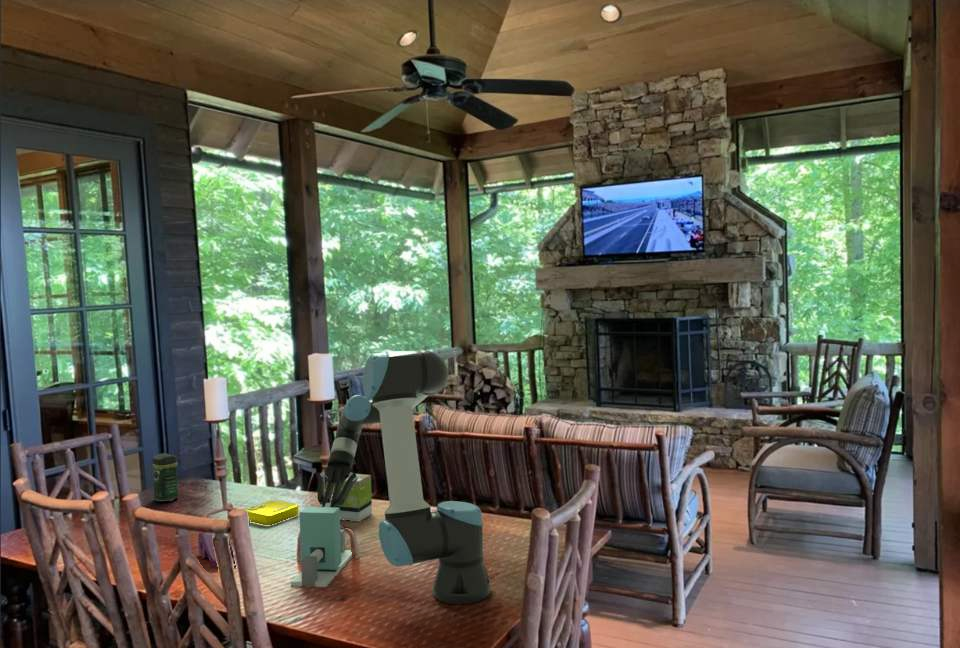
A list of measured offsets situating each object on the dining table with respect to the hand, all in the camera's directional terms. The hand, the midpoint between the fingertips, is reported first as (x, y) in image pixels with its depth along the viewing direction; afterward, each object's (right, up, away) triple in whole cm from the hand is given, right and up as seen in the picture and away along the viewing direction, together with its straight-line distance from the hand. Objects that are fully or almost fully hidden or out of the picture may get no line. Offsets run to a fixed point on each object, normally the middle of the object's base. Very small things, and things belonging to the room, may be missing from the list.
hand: (324, 525), depth 197 cm
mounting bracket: (-33, -13, +9) cm, 37 cm away
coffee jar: (-80, -12, +75) cm, 110 cm away
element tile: (-30, -12, +48) cm, 58 cm away
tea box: (-2, -11, +47) cm, 49 cm away
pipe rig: (0, -12, -1) cm, 12 cm away
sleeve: (0, -10, -3) cm, 11 cm away
